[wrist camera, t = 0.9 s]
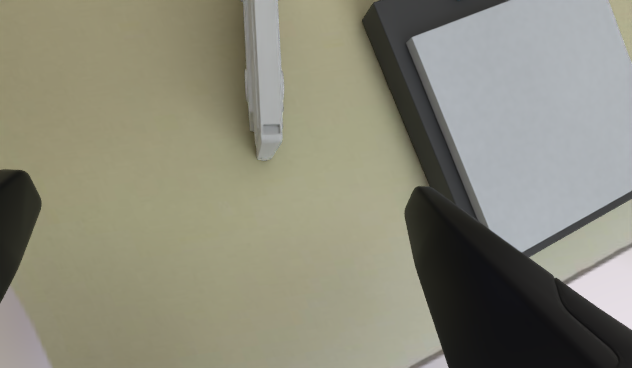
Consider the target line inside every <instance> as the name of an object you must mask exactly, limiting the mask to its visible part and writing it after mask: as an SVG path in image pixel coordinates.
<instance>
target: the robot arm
mask: <svg viewBox="0 0 632 368" xmlns="http://www.w3.org/2000/svg"><path fill="white" fill-rule="evenodd" d="M40 210H41V198H40V196H39V194H38V192H37V190H36V188H35V186H34V184H33V182H32V180H31V178H30V176H29V174H28V173H27V172H25V171H23V170H8V169H3V170H0V303H1V301H2V299H3V297H4V295H5V293H6V291H7V289H8V287H9V286H10V284H11V282H12V280H13V278H14V276H15V274H16V272H17V270H18V267H19V265H20V263H21V260H22V258H23V255H24V252H25V250H26V247H27V244H28V242H29V239H30V236H31V234H32V231H33V228H34V226H35V223H36V221H37V218H38V215H39V213H40ZM404 214H405V221H406V225H407V230H408V235H409V240H410V244H411V249H412V254H413V259H414V263H415V267H416V270H417V273H418V276H419V280H420V283H421V286H422V289H423V292H424V295H425V298H426V301H427V304H428V307H429V310H430V313H431V316H432V319H433V322H434V325H435V328H436V331H437V334H438V337H439V340H440V343H441V346H442V349H443V352H444V355H445V358H446V361H447V364H448V367H449V368H632V330H631V329H629V328H628V327H626V326H625V325H623V324H622V323H620V322H619V321H617V320H616V319H614V318H613V317H611V316H610V315H608V314H607V313H605V312H604V311H602V310H601V309H599V308H598V307H596V306H595V305H594V304H592V303H591V302H589V301H588V300H587V299H585V298H584V297H582V296H581V295H579V294H578V293H577V292H575V291H574V290H572V289H571V288H570V287H568V286H567V285H566V284H564V283H563V282H561V281H560V280H559V279H557V278H554V276H553V275H552V274H550V273H549V272H548V271H546V270H545V269H544V268H542V267H541V266H539V265H538V264H537V263H535V262H534V261H533V260H531V259H530V258H528V257H527V256H526V255H524V254H523V253H522V252H520V251H519V250H517V249H516V248H515V247H513V246H512V245H511V244H509V243H508V242H506V241H505V240H504V239H502V238H501V237H500V236H498V235H497V234H495V233H494V232H493V231H491V230H490V229H489V228H487V227H486V226H485V225H483V224H482V223H480V222H479V221H478V220H476V219H475V218H474V217H472V216H471V215H469V214H468V213H467V212H465V211H464V210H463V209H461V208H460V207H458V206H457V205H456V204H454V203H453V202H452V201H450V200H449V199H447V198H446V197H445V196H443V195H442V194H441V193H439V192H438V191H436V190H435V189H434V188H432V187H425V186H418V187H416V188H415V189H414V190H413V192H412V194H411V197H410V199H409V201H408V203H407V205H406V208H405V213H404Z"/></svg>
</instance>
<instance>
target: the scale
mask: <svg viewBox="0 0 632 368" xmlns="http://www.w3.org/2000/svg"><path fill="white" fill-rule="evenodd" d="M362 22H363V24H364V27H365V29H366V32H367V34H368V37H369V39H370V41H371V44H372V46H373V49H374V51H375V54H376V56H377V58H378V61H379V63H380V66H381V68H382V70H383V73H384V75H385V78H386V80H387V83H388V85H389V87H390V90H391V92H392V95H393V97H394V100H395V102H396V104H397V107H398V109H399V112H400V114H401V117H402V119H403V121H404V124H405V126H406V129H407V131H408V134H409V136H410V138H411V141H412V143H413V146H414V148H415V150H416V153H417V155H418V158H419V160H420V163H421V165H422V167H423V170H424V172H425V175H426V177H427V180H428V182H429V184H430V187H432V188H434V189H435V190H436V191H438V192H439V193H441V194H442V195H443V196H445V197H446V198H447V199H449V200H450V201H452V202H453V203H454V204H456V205H457V206H458V207H460V208H461V209H463V210H464V211H465V212H467V213H468V214H469V215H471V216H472V217H474V218H475V219H476V220H478V221H479V222H480V223H482V224H483V225H485V226H486V227H487V228H489V229H490V230H491V231H493V232H494V233H495V234H497V235H498V236H500V237H501V238H502V239H504V240H505V241H506V242H508V243H509V244H511V245H512V246H513V247H515V248H516V249H517V250H519V251H520V252H522V253H523V254H524V255H526V256H527V257H530V256H532V255H534V254H535V253H537V252H539V251H541V250H542V249H544V248H546V247H548V246H550V245H551V244H553V243H555V242H557V241H558V240H560V239H562V238H564V237H565V236H567V235H569V234H571V233H572V232H574V231H576V230H578V229H579V228H581V227H583V226H585V225H586V224H588V223H590V222H592V221H594V220H595V219H597V218H599V217H601V216H602V215H604V214H606V213H608V212H609V211H611V210H613V209H615V208H616V207H618V206H620V205H622V204H623V203H625V202H627V201H629V200H630V199H632V63H631V60H630V58H629V55H628V52H627V49H626V47H625V44H624V41H623V39H622V36H621V33H620V30H619V28H618V25H617V22H616V19H615V17H614V14H613V11H612V9H611V6H610V3H609V0H380V1H377V2H374V3H373V4H372V5H371V7H370V9H369V10H368V12H367V13H366V15H365V16H364V18H363V19H362Z"/></svg>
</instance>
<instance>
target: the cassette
mask: <svg viewBox="0 0 632 368" xmlns="http://www.w3.org/2000/svg"><path fill="white" fill-rule="evenodd" d="M241 2H243V10H244V29H245V49H246V68H247V70H245V90H246V101H248V107H249V127H250V131H253V132H254V133H255V145H256V149H257V160H261V161H267V160H268V159H271V158H272V157H273V155H274V154H275V152H276V151H277V149H278V148H279V146H280V144H281V143H282V129H283V118H282V113H283V99H284V77H283V71H282V70H281V53H280V34H279V15H278V0H241Z"/></svg>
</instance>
